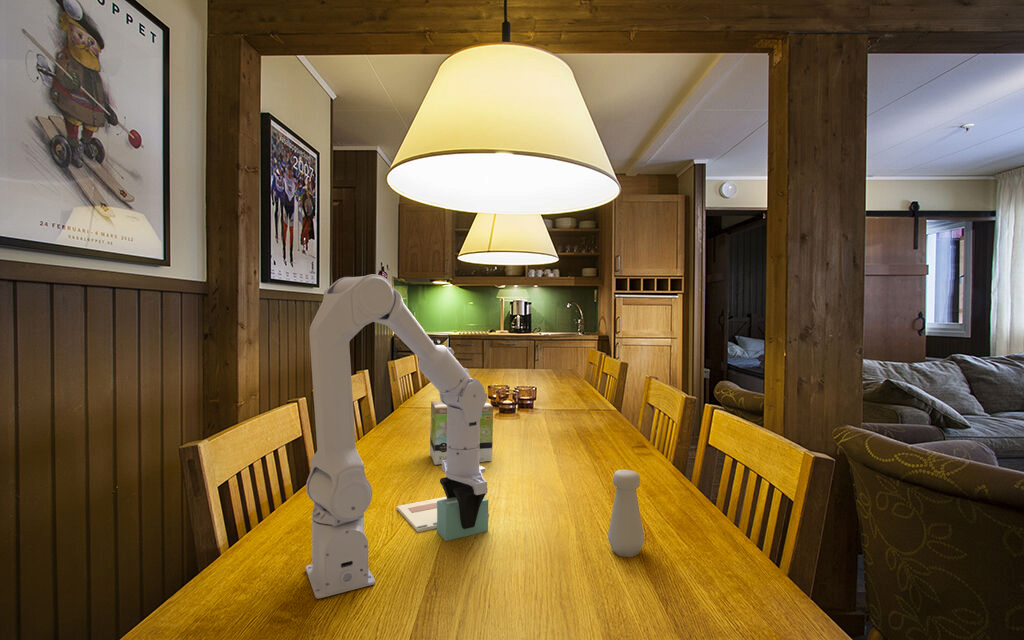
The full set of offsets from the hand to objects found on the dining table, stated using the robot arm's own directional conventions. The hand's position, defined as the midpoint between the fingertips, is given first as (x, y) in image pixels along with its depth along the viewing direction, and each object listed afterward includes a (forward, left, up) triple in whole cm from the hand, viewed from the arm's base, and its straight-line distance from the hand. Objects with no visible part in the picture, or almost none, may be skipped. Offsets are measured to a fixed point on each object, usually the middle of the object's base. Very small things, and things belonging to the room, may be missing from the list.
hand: (462, 522), depth 90 cm
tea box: (+40, -18, -2) cm, 44 cm away
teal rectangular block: (0, 0, -2) cm, 2 cm away
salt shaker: (-20, -20, -2) cm, 28 cm away
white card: (+9, 0, -2) cm, 10 cm away
